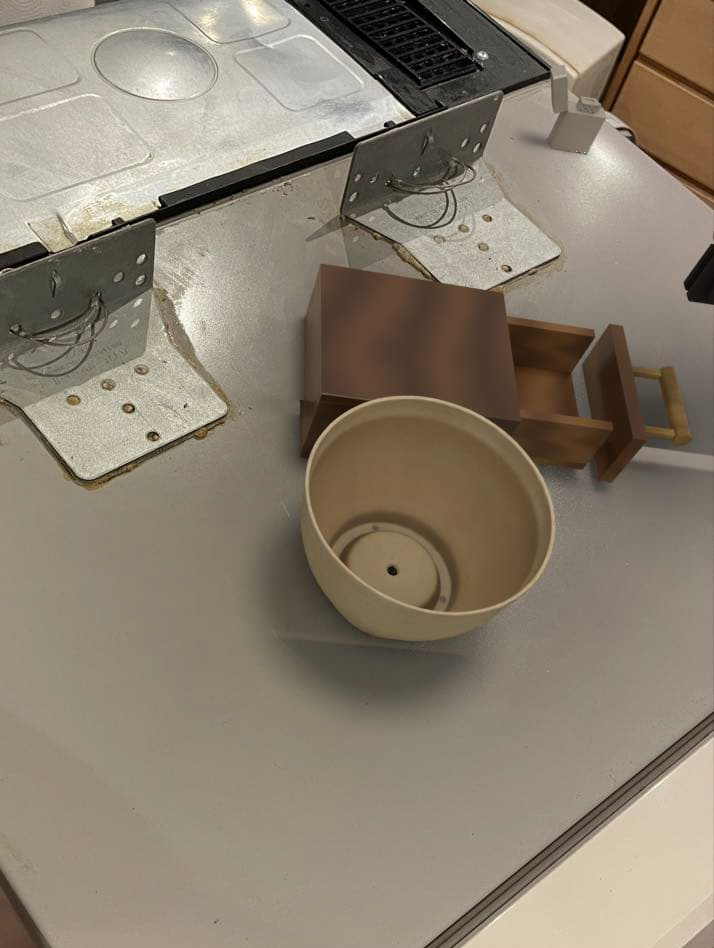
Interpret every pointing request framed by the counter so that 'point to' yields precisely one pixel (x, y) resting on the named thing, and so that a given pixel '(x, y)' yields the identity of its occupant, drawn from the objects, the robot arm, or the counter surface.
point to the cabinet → (403, 347)
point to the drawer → (609, 393)
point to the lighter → (573, 116)
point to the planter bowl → (423, 518)
